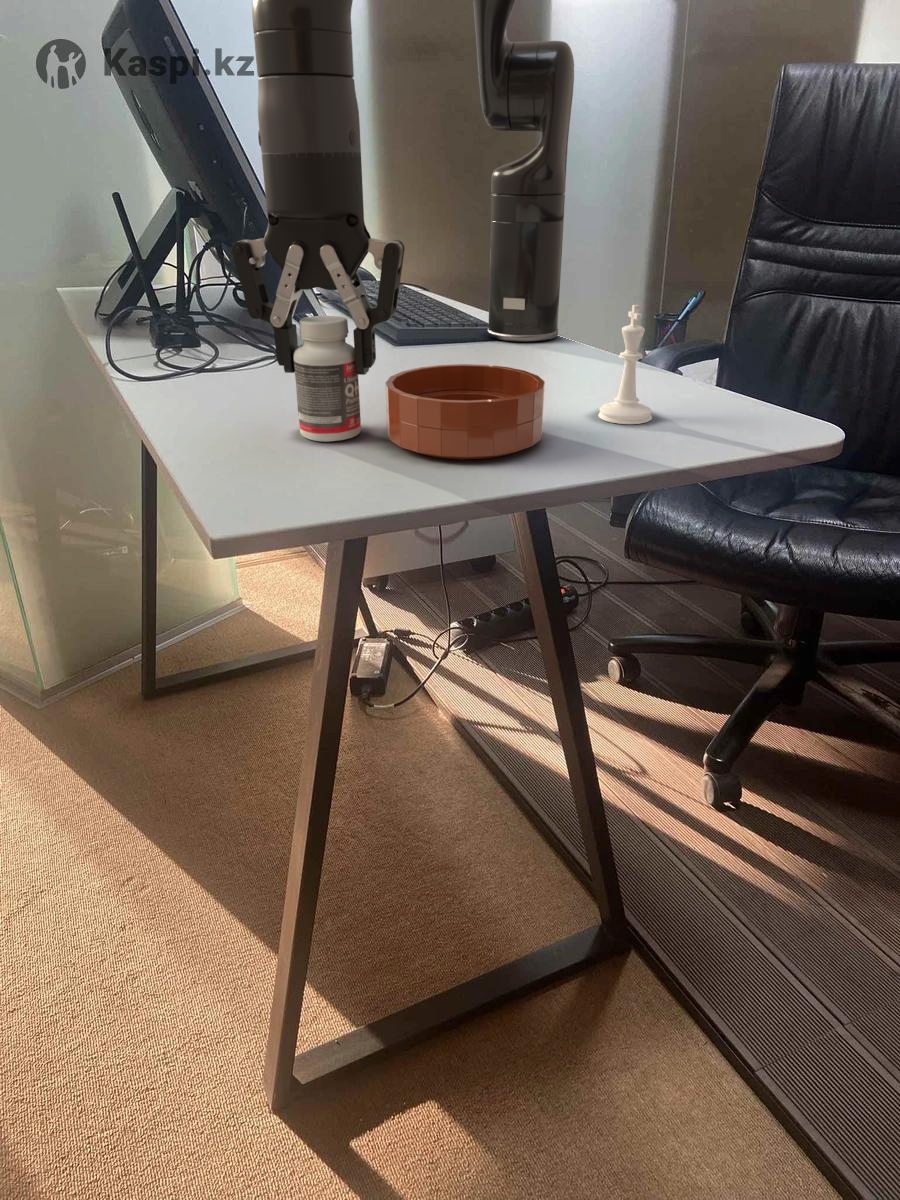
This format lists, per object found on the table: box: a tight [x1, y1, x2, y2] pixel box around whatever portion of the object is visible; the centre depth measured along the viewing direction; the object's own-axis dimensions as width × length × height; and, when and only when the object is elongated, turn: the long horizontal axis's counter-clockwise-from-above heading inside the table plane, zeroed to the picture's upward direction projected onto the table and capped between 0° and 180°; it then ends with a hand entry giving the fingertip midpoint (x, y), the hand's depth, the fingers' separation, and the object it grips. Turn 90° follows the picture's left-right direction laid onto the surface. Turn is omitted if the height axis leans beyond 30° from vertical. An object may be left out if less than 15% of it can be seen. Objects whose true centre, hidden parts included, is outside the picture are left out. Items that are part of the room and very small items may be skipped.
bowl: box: [384, 363, 546, 460], centre depth 73 cm, size 13×13×5 cm
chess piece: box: [598, 304, 653, 425], centre depth 78 cm, size 5×5×10 cm
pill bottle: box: [293, 315, 362, 443], centre depth 73 cm, size 5×5×10 cm
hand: (326, 371), depth 73 cm, fingers closed on pill bottle, 5 cm apart
